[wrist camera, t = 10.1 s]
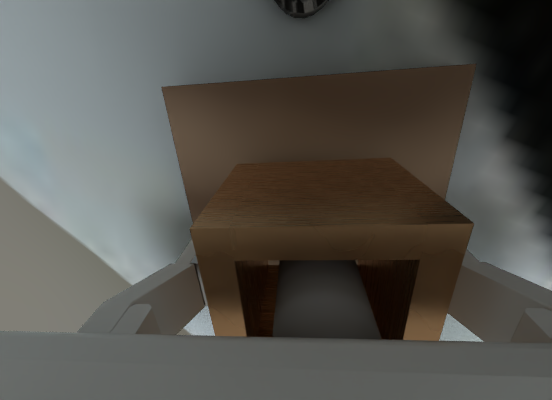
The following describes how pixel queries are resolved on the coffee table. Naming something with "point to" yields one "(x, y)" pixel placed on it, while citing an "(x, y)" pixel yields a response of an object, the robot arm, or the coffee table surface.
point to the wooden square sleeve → (330, 241)
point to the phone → (301, 7)
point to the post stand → (320, 146)
